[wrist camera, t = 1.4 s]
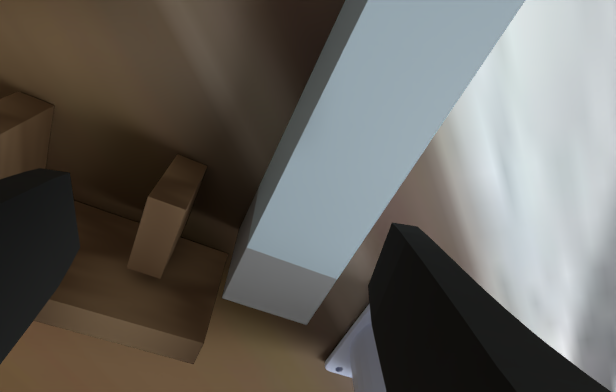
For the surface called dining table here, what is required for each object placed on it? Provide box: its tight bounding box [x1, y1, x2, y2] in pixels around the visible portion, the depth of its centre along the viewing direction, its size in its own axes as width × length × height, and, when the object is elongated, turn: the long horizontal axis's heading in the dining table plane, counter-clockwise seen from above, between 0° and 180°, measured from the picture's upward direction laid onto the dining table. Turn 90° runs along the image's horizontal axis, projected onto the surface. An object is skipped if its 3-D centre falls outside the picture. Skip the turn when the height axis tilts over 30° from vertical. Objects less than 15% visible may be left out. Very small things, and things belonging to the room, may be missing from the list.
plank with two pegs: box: [0, 91, 228, 364], centre depth 16 cm, size 14×6×6 cm, turn 65°
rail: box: [222, 0, 525, 325], centre depth 15 cm, size 16×4×5 cm, turn 155°
